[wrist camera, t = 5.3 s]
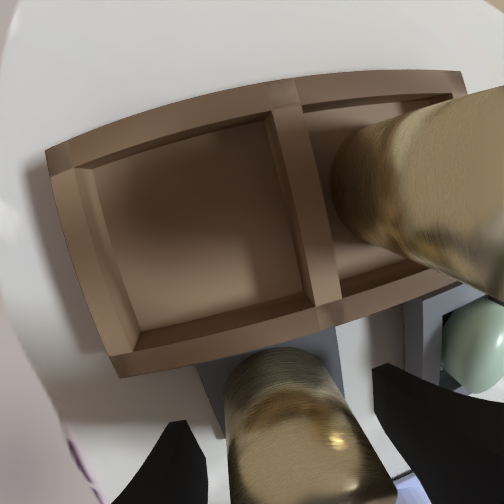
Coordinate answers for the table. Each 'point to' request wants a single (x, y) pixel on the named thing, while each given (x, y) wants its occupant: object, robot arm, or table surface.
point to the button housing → (433, 331)
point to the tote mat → (220, 369)
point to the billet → (297, 436)
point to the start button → (474, 345)
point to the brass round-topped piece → (431, 187)
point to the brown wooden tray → (232, 218)
